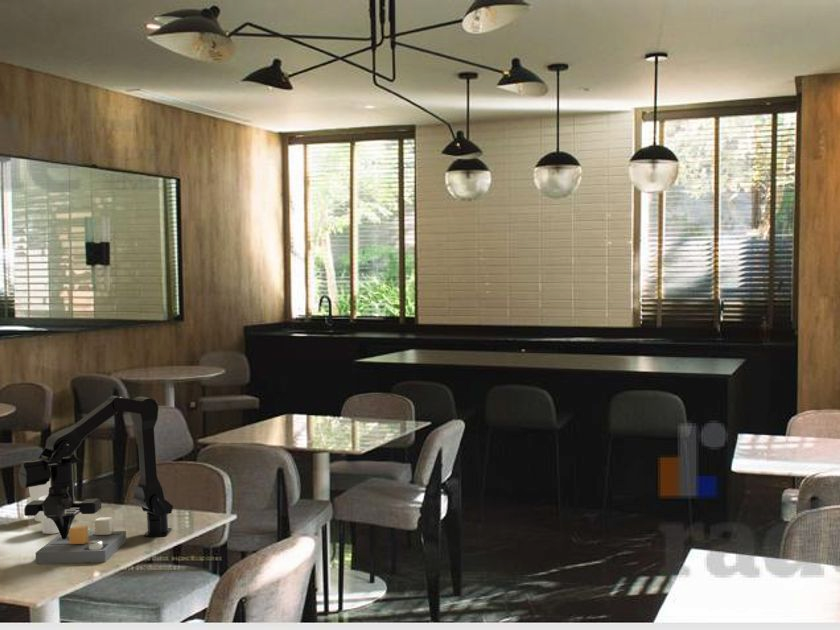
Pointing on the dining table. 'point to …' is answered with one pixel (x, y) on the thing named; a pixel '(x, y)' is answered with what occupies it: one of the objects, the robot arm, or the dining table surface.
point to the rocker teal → (88, 529)
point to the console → (80, 549)
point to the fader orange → (78, 534)
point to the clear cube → (96, 545)
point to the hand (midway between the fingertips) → (64, 538)
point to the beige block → (104, 526)
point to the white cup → (47, 522)
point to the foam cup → (39, 494)
